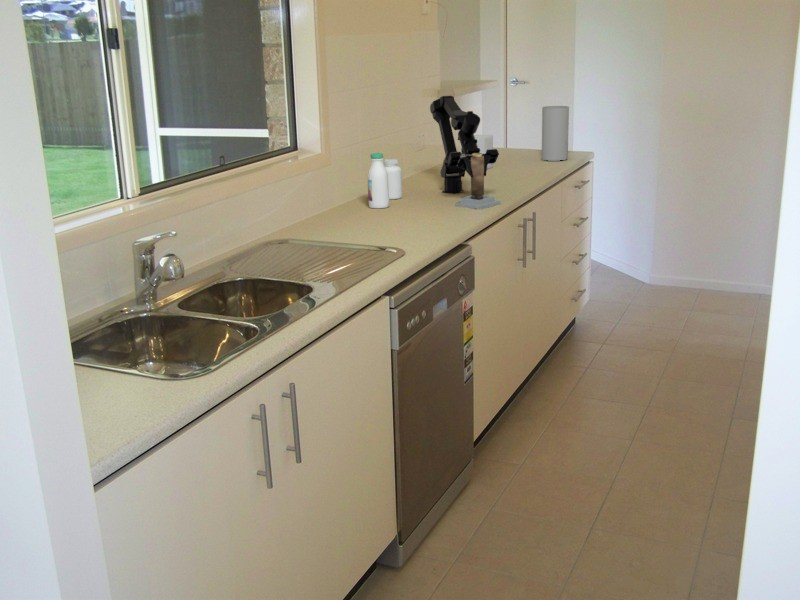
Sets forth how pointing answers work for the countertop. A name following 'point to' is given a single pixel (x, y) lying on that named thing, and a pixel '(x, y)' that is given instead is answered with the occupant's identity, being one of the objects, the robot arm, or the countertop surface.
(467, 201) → the seat dish
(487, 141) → the supplement box
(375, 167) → the milk bottle
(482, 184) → the pepper mill
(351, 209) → the countertop surface
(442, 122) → the robot arm
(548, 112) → the cylinder vase
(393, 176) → the pill bottle
